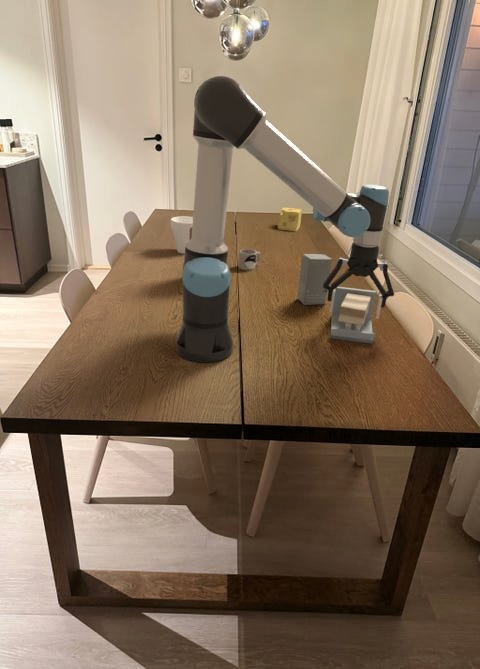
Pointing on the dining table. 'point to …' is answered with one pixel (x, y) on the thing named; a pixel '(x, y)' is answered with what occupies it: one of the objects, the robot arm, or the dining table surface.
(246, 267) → the mug
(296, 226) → the cheese
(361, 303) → the slab
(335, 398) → the dining table surface
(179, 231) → the cup
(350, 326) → the cradle
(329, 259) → the skincare box
